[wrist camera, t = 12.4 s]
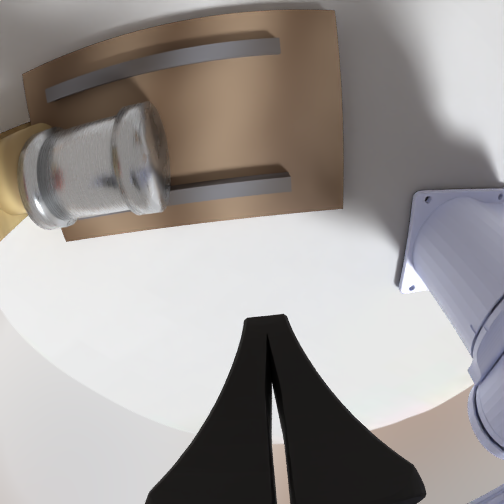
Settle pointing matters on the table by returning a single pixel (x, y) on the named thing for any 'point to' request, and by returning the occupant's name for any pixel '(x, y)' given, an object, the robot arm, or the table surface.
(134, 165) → the pipe coupling
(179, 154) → the slider rig
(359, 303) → the table surface
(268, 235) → the table surface
